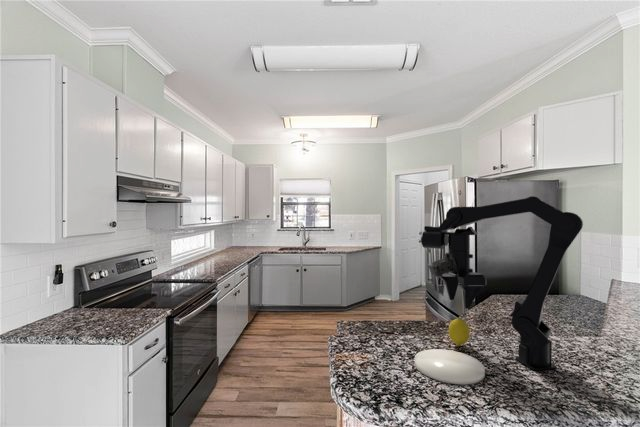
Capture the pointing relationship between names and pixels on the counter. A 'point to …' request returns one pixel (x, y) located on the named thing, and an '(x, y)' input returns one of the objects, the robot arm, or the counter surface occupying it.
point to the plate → (449, 366)
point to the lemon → (459, 331)
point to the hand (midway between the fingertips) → (459, 304)
